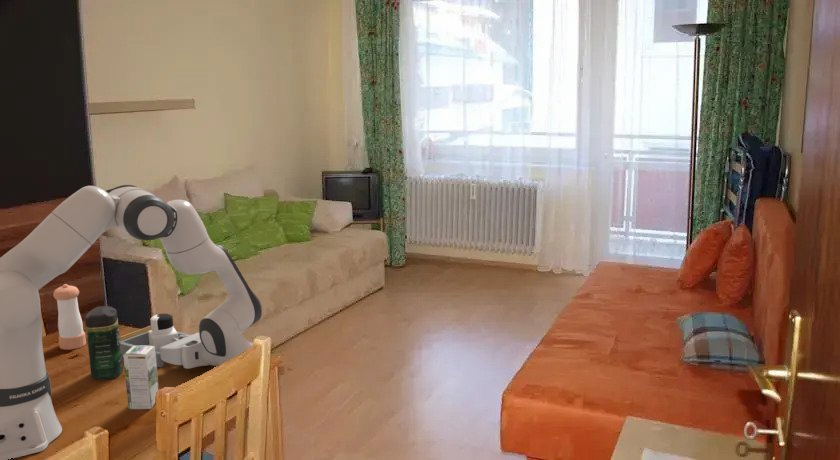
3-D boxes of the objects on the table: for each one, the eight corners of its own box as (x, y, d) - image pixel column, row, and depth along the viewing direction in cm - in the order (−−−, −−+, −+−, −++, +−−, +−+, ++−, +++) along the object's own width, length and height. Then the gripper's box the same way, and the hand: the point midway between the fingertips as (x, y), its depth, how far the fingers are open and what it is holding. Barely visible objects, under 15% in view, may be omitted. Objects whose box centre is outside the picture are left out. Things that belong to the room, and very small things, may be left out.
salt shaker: (64, 341, 228) (56, 281, 224) (89, 340, 228) (81, 280, 224) (56, 350, 221) (47, 288, 216) (81, 348, 221) (73, 287, 217)
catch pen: (160, 367, 206) (158, 349, 205) (117, 355, 216) (115, 338, 214) (201, 349, 218) (199, 333, 217) (159, 339, 228) (157, 322, 227)
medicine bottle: (175, 348, 220) (171, 310, 217) (180, 356, 214) (176, 316, 211) (150, 353, 216) (146, 314, 214) (154, 361, 210) (150, 321, 208)
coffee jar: (121, 379, 199) (113, 313, 195) (89, 382, 197) (80, 316, 193) (125, 365, 208) (118, 302, 204) (95, 368, 206) (87, 305, 202)
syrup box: (137, 399, 186) (131, 345, 183) (160, 399, 186) (155, 344, 183) (128, 409, 181) (121, 353, 177) (152, 409, 180) (146, 353, 177)
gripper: (237, 325, 213) (203, 318, 220) (180, 348, 196) (145, 340, 203) (238, 346, 214) (205, 338, 221) (182, 371, 197) (148, 361, 204)
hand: (176, 339), depth 212 cm, fingers closed
